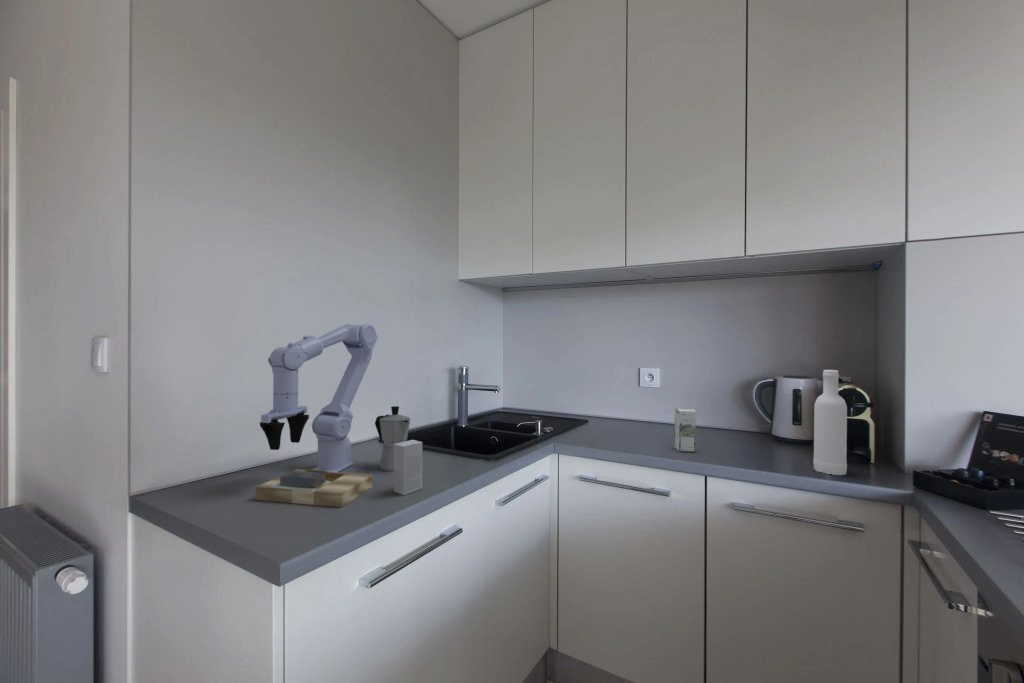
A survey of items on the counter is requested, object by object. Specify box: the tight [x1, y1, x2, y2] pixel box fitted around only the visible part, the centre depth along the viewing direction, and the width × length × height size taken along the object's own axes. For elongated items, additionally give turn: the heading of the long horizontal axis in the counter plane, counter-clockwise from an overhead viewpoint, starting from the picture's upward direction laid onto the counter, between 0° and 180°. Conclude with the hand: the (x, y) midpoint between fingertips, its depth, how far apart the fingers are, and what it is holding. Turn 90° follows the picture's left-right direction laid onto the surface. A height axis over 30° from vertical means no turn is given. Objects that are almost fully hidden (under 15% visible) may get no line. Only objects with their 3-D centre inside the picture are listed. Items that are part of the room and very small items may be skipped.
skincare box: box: [393, 439, 424, 496], centre depth 106 cm, size 6×4×12 cm
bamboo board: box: [255, 468, 374, 508], centre depth 103 cm, size 14×22×3 cm, turn 80°
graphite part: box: [279, 470, 326, 488], centre depth 100 cm, size 4×9×2 cm, turn 81°
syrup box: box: [673, 407, 697, 453], centre depth 148 cm, size 6×6×14 cm
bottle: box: [812, 369, 848, 476], centre depth 125 cm, size 8×8×30 cm
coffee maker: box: [374, 405, 411, 472], centre depth 126 cm, size 15×9×18 cm, turn 56°
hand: (285, 445), depth 110 cm, fingers open, 7 cm apart
